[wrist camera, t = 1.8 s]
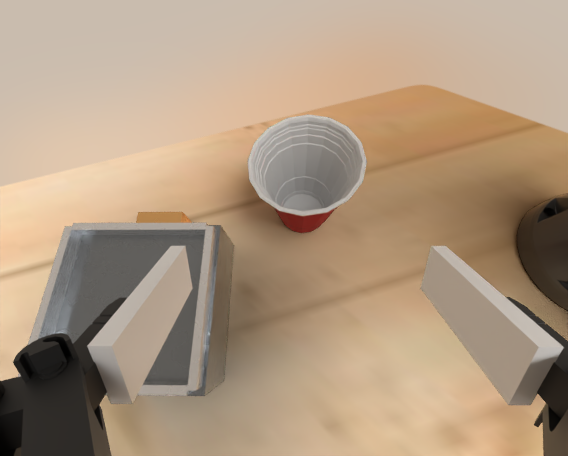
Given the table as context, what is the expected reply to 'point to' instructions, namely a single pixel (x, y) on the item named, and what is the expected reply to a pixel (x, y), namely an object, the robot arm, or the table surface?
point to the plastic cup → (306, 169)
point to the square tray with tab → (127, 276)
